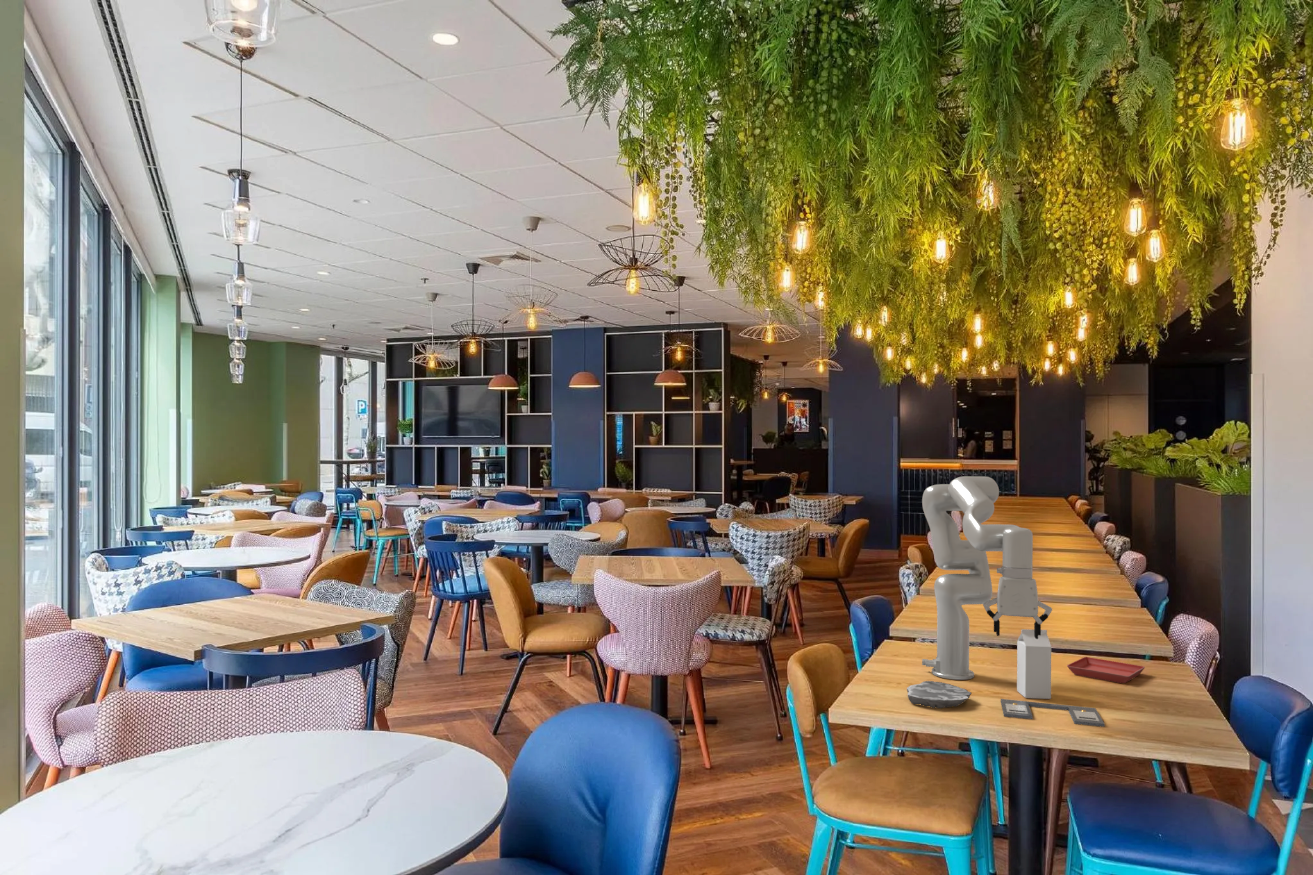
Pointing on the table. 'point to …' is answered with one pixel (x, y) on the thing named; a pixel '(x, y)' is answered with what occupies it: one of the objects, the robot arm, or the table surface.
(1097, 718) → the label panel
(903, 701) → the table surface
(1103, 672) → the plant saucer
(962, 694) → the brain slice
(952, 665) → the robot arm
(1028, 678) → the milk carton
